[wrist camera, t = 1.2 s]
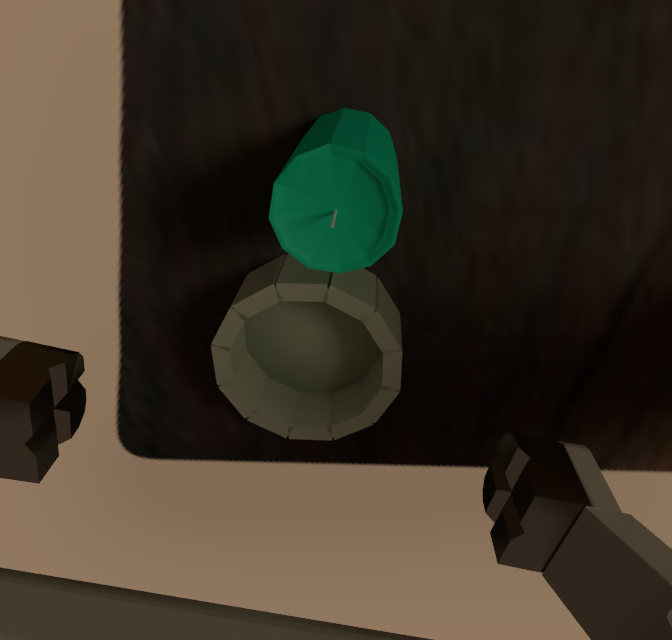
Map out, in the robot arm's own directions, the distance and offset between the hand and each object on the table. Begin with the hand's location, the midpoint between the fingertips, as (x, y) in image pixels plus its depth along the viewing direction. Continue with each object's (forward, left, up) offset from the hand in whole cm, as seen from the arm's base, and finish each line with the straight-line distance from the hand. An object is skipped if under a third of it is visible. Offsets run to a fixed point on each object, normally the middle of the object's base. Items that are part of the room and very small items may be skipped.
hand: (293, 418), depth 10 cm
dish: (-4, +13, -25) cm, 29 cm away
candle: (0, +1, -26) cm, 26 cm away
